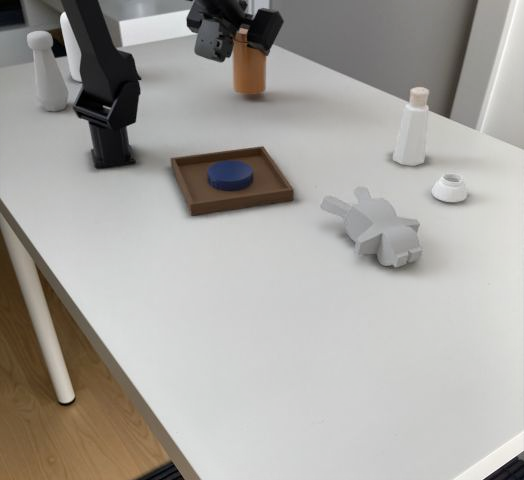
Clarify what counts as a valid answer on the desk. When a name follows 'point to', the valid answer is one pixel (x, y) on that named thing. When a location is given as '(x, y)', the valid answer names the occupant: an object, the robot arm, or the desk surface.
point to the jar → (247, 66)
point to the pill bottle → (71, 48)
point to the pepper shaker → (413, 130)
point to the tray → (213, 200)
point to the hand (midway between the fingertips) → (254, 50)
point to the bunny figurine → (377, 228)
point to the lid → (230, 175)
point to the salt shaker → (47, 72)
